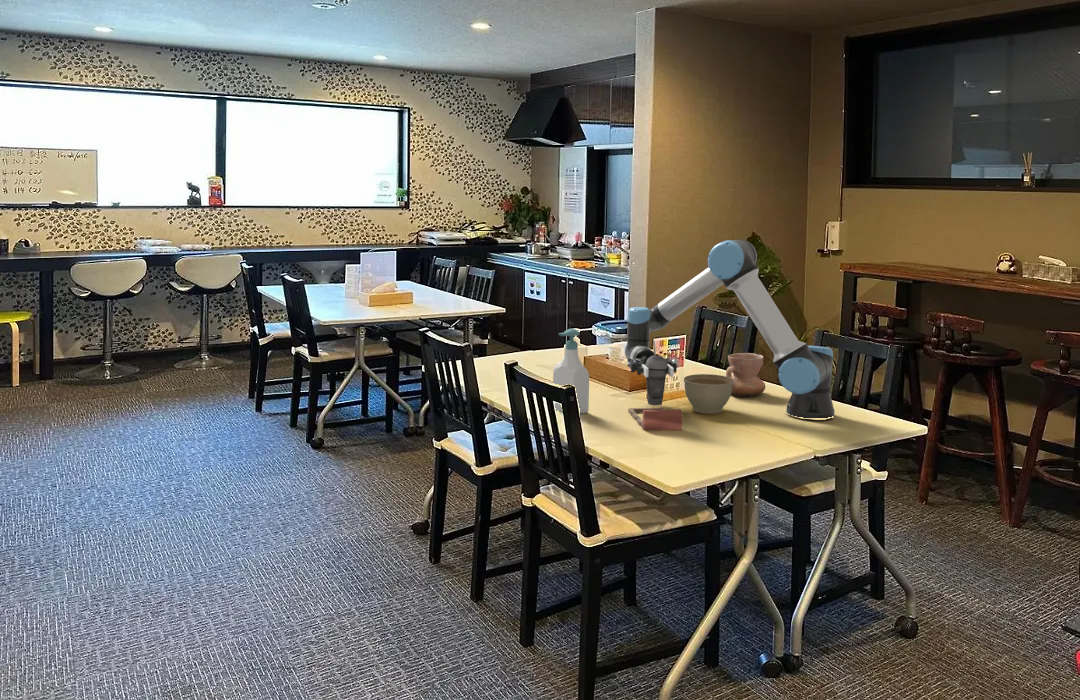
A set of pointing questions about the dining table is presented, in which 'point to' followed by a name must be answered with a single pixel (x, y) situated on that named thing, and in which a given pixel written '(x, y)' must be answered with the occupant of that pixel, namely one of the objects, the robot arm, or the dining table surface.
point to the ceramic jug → (745, 374)
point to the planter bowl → (708, 392)
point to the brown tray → (658, 418)
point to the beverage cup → (656, 378)
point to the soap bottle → (573, 372)
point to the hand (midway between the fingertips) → (659, 372)
